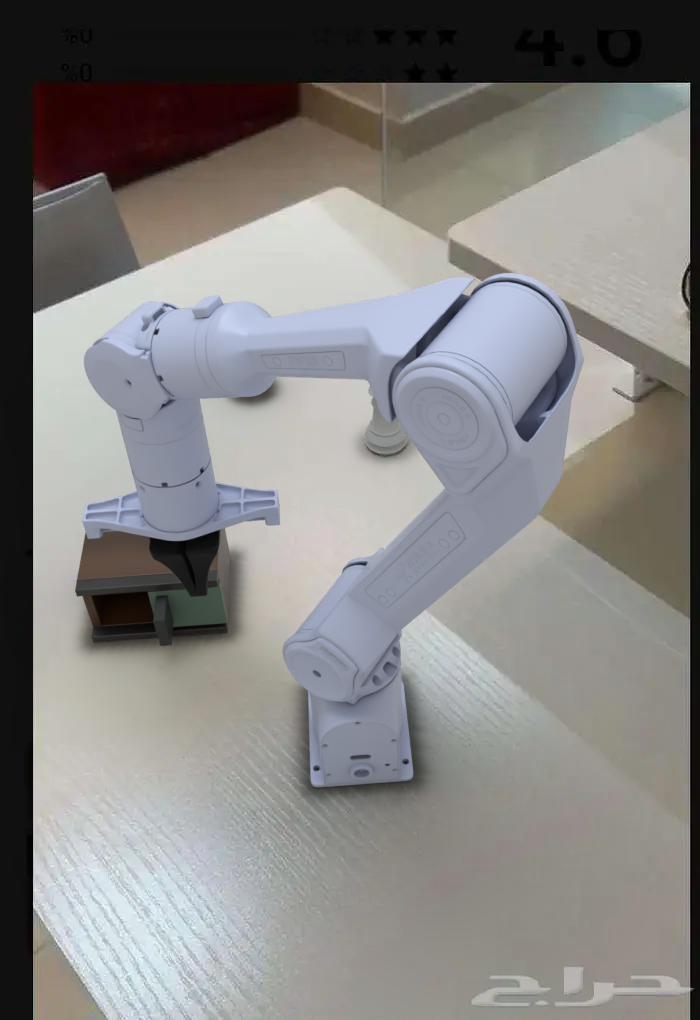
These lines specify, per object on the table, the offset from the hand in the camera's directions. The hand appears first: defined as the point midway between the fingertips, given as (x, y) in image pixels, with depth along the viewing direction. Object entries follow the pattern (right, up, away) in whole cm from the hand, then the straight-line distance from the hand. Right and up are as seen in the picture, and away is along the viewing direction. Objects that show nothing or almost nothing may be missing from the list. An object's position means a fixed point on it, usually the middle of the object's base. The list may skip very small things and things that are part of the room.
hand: (199, 587), depth 85 cm
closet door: (-2, -5, +7) cm, 9 cm away
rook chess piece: (+16, +13, +26) cm, 33 cm away
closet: (-5, -2, +12) cm, 13 cm away
